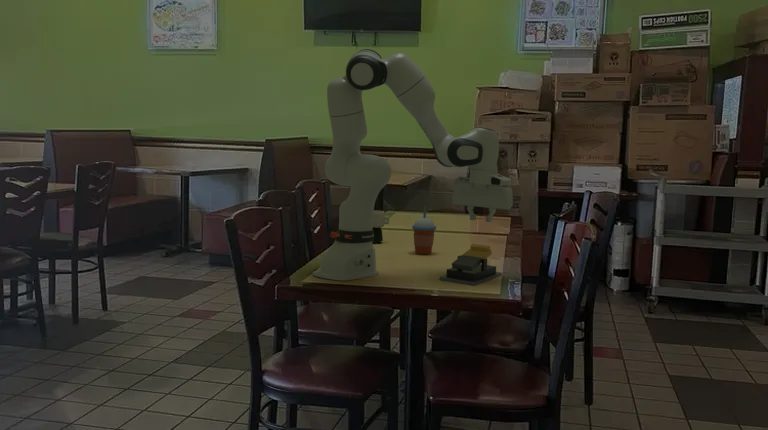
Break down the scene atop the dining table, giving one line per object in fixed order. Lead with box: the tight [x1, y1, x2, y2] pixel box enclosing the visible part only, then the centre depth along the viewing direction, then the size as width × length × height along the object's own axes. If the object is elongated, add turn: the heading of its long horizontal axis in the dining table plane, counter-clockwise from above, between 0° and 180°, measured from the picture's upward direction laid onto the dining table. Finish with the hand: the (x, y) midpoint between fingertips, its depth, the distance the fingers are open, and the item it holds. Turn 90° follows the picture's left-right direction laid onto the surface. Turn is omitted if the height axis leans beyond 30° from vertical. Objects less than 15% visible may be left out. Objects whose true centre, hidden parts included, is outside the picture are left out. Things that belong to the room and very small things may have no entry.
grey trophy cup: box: [372, 209, 390, 243], centre depth 290 cm, size 11×7×13 cm, turn 86°
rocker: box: [451, 243, 493, 271], centre depth 225 cm, size 14×7×3 cm, turn 146°
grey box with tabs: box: [439, 254, 503, 286], centre depth 226 cm, size 20×12×7 cm, turn 146°
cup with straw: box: [411, 206, 437, 256], centre depth 268 cm, size 9×9×18 cm
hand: (480, 220), depth 229 cm, fingers open, 4 cm apart
